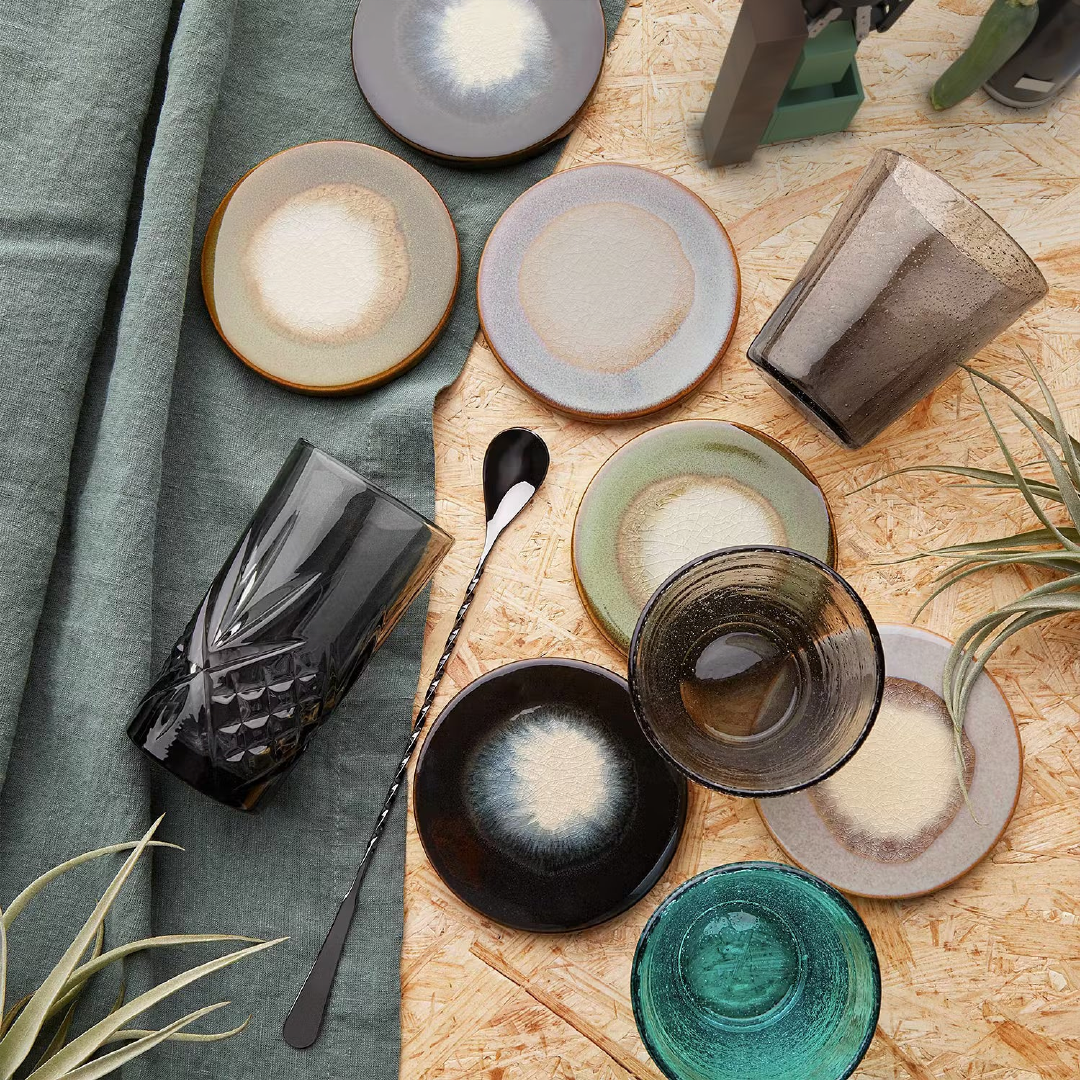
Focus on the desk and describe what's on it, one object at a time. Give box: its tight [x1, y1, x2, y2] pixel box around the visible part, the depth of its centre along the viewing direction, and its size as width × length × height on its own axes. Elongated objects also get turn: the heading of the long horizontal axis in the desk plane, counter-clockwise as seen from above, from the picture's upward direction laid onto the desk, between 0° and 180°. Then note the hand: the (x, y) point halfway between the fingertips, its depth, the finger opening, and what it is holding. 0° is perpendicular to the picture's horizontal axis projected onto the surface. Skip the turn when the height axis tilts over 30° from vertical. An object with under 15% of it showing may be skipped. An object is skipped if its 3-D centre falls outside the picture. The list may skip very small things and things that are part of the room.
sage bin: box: [758, 55, 866, 146], centre depth 93 cm, size 9×9×6 cm
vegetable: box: [929, 0, 1039, 110], centre depth 86 cm, size 4×4×20 cm
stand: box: [699, 0, 809, 170], centre depth 85 cm, size 4×4×20 cm
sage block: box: [788, 20, 859, 90], centre depth 88 cm, size 5×5×5 cm
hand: (811, 59), depth 90 cm, fingers closed on sage block, 5 cm apart
